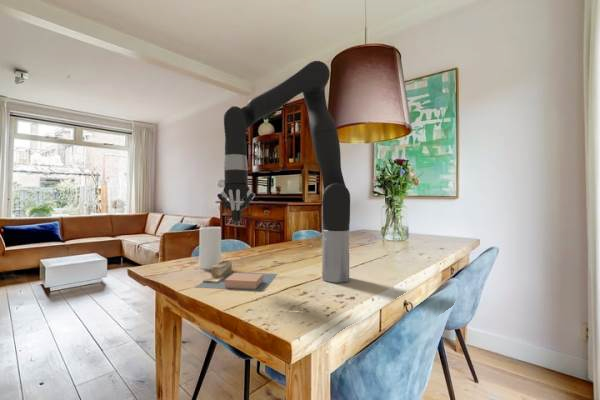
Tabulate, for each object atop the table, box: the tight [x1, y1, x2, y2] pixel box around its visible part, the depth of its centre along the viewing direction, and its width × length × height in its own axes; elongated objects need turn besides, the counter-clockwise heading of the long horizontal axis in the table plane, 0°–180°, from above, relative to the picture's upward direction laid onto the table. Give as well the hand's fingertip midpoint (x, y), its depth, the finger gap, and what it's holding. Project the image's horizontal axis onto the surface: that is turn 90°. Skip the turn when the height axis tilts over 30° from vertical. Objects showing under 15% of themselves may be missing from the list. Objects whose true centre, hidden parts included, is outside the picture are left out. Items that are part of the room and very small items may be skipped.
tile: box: [225, 272, 263, 289], centre depth 89 cm, size 2×8×10 cm
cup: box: [198, 226, 222, 270], centre depth 112 cm, size 8×8×16 cm
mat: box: [194, 271, 278, 292], centre depth 94 cm, size 22×19×1 cm
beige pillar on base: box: [202, 260, 233, 283], centre depth 98 cm, size 5×14×4 cm, turn 172°
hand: (236, 221), depth 93 cm, fingers closed
